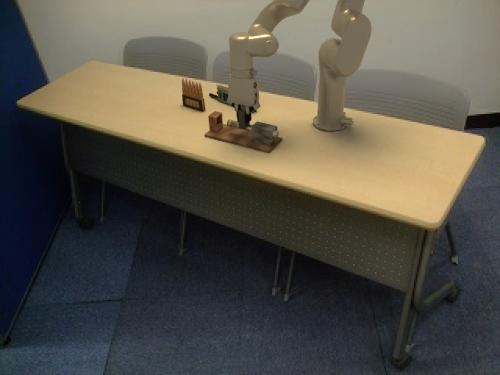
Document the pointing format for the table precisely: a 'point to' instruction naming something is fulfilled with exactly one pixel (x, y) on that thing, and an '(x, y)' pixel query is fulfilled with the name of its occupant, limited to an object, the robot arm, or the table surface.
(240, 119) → the tube
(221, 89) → the handheld radio
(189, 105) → the ammunition clip
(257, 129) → the tube stand
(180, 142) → the table surface
